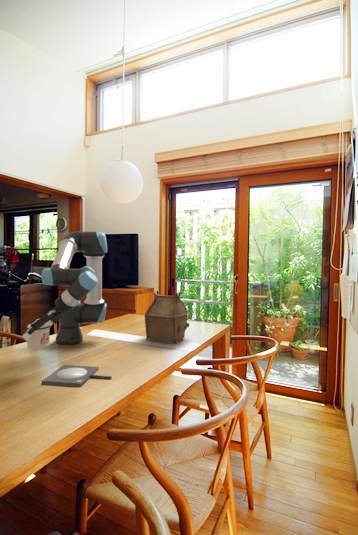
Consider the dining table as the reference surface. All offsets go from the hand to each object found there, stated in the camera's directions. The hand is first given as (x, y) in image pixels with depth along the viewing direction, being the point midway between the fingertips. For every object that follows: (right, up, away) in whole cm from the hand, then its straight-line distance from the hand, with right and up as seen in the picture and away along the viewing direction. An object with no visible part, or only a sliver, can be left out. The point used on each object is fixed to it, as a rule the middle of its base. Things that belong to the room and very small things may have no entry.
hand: (33, 334), depth 129 cm
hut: (+55, -16, +56) cm, 80 cm away
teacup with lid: (+3, -5, 0) cm, 6 cm away
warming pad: (+23, -16, -6) cm, 29 cm away
